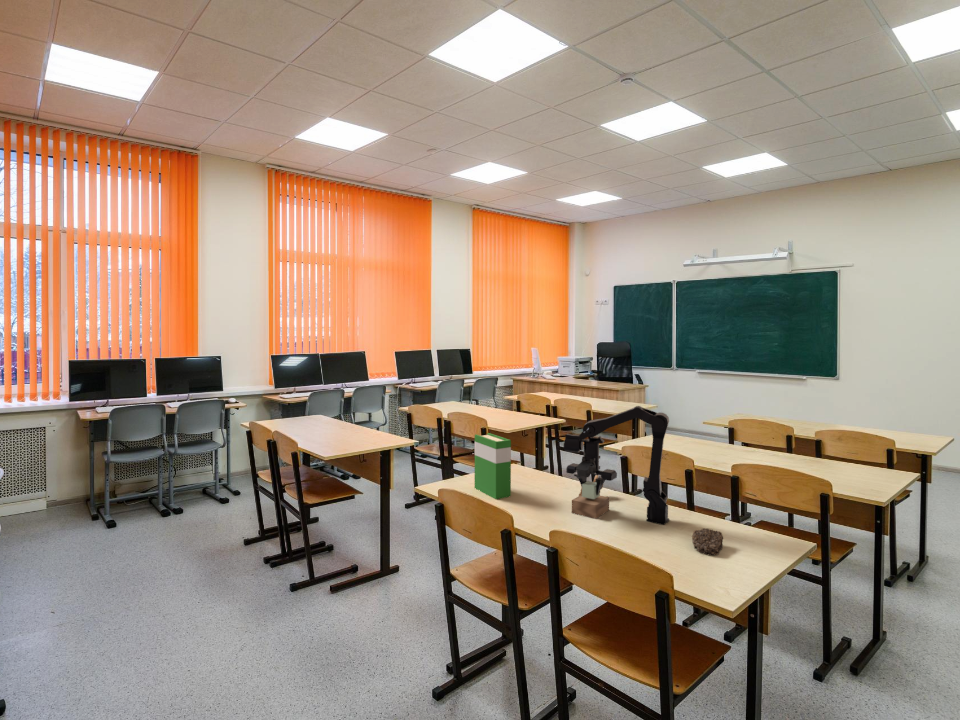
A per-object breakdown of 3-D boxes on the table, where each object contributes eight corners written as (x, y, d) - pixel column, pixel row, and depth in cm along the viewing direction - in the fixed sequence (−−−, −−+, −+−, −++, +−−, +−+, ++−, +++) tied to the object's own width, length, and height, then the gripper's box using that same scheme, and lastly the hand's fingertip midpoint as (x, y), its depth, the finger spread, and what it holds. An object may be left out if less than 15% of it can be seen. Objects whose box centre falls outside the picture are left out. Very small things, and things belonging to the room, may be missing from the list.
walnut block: (609, 509, 203) (609, 497, 203) (595, 518, 193) (596, 505, 193) (585, 504, 209) (585, 492, 209) (571, 512, 200) (571, 500, 199)
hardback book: (474, 488, 231) (474, 434, 229) (488, 485, 235) (488, 433, 233) (495, 499, 216) (495, 442, 214) (510, 496, 219) (510, 440, 218)
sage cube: (599, 496, 201) (599, 483, 201) (593, 499, 197) (594, 486, 197) (587, 493, 204) (587, 481, 204) (581, 496, 200) (582, 483, 200)
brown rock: (697, 539, 175) (697, 524, 175) (729, 547, 168) (729, 532, 168) (683, 549, 167) (684, 534, 167) (716, 559, 160) (717, 542, 160)
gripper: (559, 454, 199) (559, 494, 200) (605, 461, 188) (604, 504, 189) (573, 448, 208) (572, 487, 209) (617, 455, 197) (617, 496, 198)
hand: (590, 493), depth 201 cm, fingers closed on sage cube, 5 cm apart
